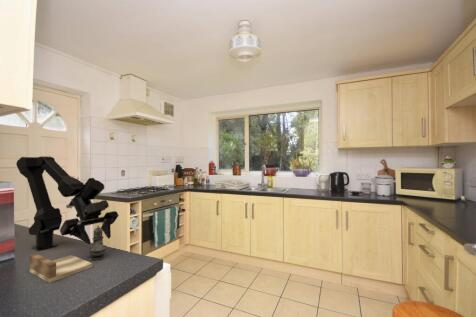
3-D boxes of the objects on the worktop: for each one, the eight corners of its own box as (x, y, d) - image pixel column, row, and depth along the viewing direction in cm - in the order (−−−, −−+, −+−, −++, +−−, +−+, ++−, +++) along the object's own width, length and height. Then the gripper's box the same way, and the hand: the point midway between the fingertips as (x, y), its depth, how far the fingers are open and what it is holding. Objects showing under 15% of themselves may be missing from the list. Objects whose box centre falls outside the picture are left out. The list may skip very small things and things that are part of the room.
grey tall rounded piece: (86, 262, 80) (87, 228, 81) (90, 256, 86) (90, 224, 86) (105, 259, 83) (106, 226, 83) (107, 253, 88) (108, 222, 88)
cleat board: (29, 271, 73) (29, 255, 73) (71, 258, 84) (71, 244, 84) (49, 283, 66) (49, 265, 67) (92, 266, 77) (92, 251, 77)
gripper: (64, 197, 78) (80, 234, 73) (116, 191, 95) (132, 221, 89) (53, 217, 82) (68, 254, 77) (105, 208, 98) (120, 238, 93)
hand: (100, 240), depth 84 cm, fingers open, 7 cm apart
